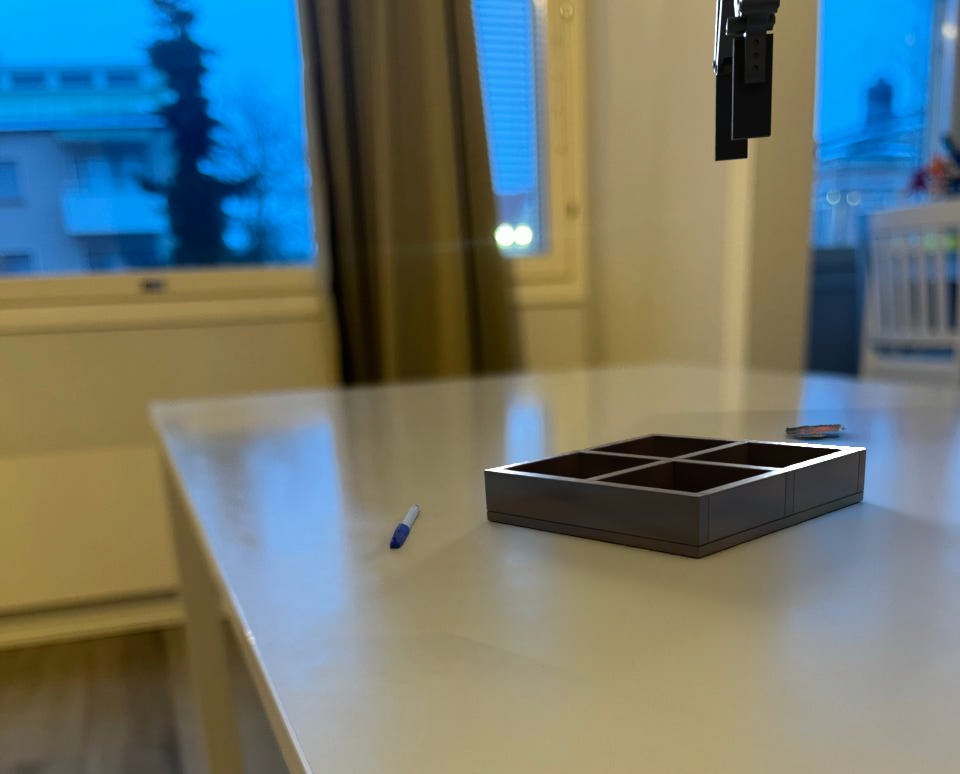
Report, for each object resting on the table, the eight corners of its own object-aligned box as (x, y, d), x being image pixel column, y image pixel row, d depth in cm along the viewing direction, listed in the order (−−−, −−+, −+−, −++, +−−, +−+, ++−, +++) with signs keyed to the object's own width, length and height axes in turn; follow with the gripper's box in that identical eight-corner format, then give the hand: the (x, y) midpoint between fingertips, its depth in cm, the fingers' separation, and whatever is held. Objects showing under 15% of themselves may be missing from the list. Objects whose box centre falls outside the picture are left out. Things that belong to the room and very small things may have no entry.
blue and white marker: (404, 552, 56) (403, 534, 56) (389, 552, 56) (387, 535, 56) (420, 512, 66) (419, 497, 65) (407, 513, 66) (406, 498, 65)
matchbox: (780, 430, 86) (781, 425, 86) (842, 427, 85) (842, 422, 85) (791, 439, 81) (791, 433, 81) (856, 435, 81) (856, 429, 81)
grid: (653, 476, 71) (653, 433, 70) (863, 500, 59) (866, 448, 58) (486, 520, 61) (483, 470, 60) (698, 558, 49) (698, 497, 48)
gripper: (682, -105, 84) (682, 170, 91) (707, -253, 61) (705, 131, 68) (773, -116, 83) (766, 163, 90) (834, -272, 60) (819, 121, 67)
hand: (740, 150), depth 79 cm, fingers open, 13 cm apart
